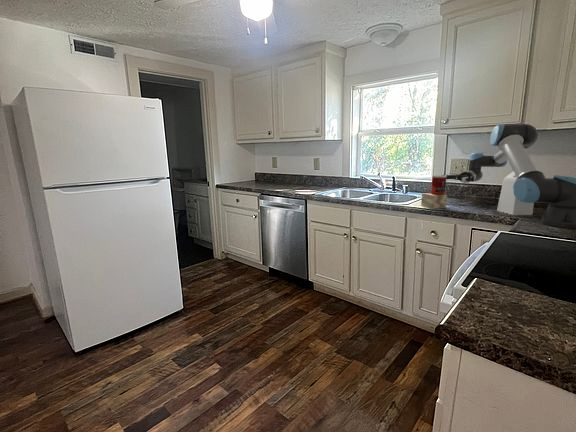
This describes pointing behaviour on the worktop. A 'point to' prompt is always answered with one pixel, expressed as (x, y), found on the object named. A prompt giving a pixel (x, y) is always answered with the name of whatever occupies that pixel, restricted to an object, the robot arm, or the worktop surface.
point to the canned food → (438, 185)
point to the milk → (512, 199)
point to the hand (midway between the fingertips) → (451, 179)
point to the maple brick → (433, 200)
